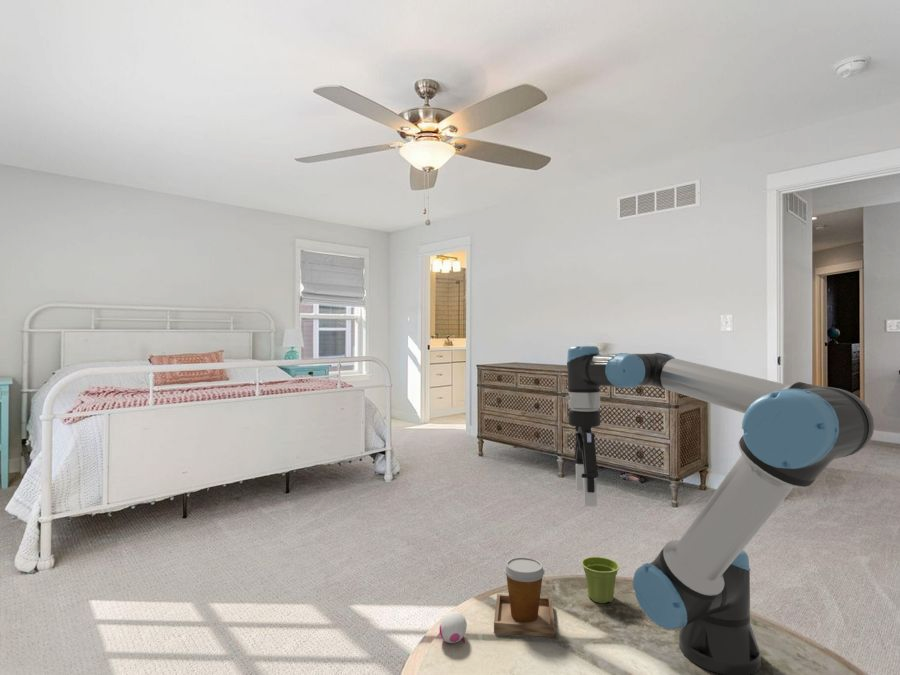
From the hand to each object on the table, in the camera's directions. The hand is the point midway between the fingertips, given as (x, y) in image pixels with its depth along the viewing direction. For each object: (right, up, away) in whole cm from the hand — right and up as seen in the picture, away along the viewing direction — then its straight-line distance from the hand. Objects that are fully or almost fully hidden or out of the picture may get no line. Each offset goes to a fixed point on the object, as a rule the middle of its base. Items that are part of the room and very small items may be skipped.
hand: (585, 497), depth 121 cm
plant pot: (+6, -29, +8) cm, 30 cm away
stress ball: (-33, -28, -10) cm, 45 cm away
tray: (-15, -28, -2) cm, 32 cm away
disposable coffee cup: (-15, -28, -2) cm, 32 cm away
